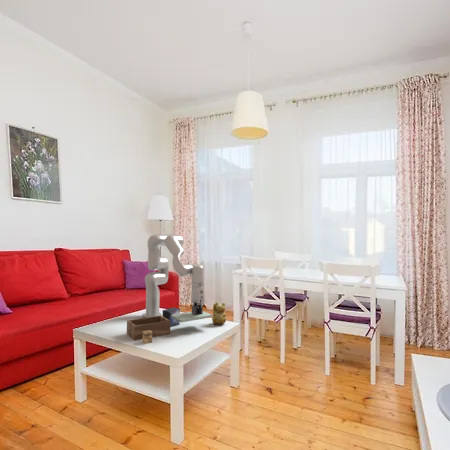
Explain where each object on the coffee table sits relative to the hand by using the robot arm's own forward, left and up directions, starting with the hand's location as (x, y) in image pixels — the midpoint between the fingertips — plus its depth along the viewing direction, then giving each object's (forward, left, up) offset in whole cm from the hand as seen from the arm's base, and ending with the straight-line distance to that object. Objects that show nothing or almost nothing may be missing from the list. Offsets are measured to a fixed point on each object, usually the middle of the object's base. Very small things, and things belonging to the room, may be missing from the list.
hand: (197, 313), depth 206 cm
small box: (-15, -11, -10) cm, 21 cm away
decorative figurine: (0, +17, -10) cm, 20 cm away
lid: (0, -4, -2) cm, 4 cm away
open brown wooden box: (-6, -30, -10) cm, 32 cm away
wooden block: (+7, -36, -10) cm, 38 cm away
